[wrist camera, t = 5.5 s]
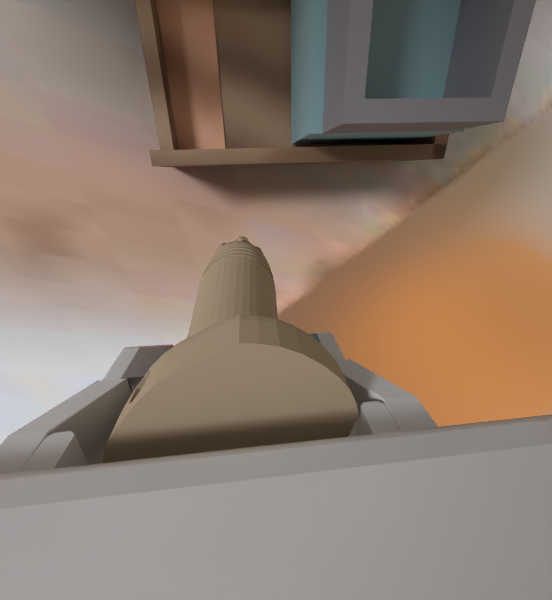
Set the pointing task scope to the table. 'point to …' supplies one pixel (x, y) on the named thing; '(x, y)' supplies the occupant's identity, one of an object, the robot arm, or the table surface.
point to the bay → (236, 88)
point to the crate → (401, 67)
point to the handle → (235, 374)
